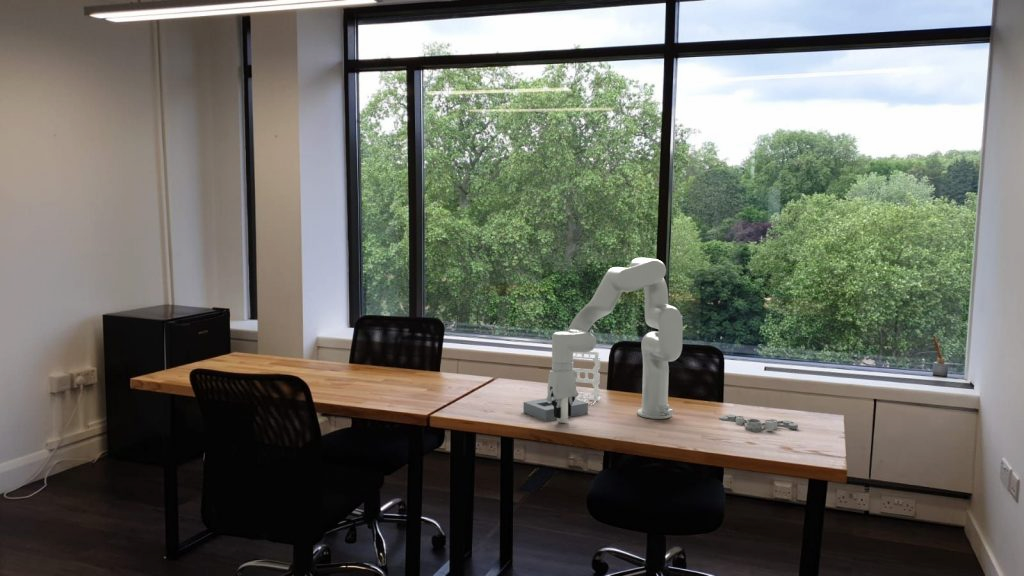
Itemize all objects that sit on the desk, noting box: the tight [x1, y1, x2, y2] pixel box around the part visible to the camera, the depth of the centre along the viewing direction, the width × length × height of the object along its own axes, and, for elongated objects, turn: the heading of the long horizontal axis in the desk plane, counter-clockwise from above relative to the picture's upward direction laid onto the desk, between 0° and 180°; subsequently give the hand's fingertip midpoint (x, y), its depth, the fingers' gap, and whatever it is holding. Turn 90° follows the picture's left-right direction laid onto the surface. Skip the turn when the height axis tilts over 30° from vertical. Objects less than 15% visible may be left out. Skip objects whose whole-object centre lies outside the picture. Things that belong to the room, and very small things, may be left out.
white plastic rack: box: [573, 351, 602, 406], centre depth 289 cm, size 14×14×20 cm
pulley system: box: [718, 414, 799, 433], centre depth 256 cm, size 27×5×15 cm
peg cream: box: [556, 397, 569, 423], centre depth 256 cm, size 4×4×9 cm
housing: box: [522, 397, 589, 422], centre depth 270 cm, size 14×20×4 cm
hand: (562, 416), depth 256 cm, fingers closed on peg cream, 4 cm apart
